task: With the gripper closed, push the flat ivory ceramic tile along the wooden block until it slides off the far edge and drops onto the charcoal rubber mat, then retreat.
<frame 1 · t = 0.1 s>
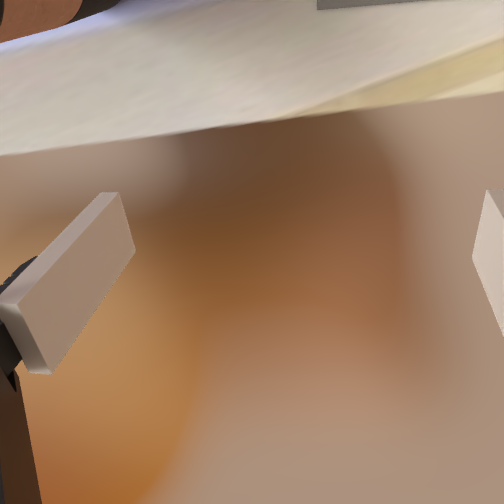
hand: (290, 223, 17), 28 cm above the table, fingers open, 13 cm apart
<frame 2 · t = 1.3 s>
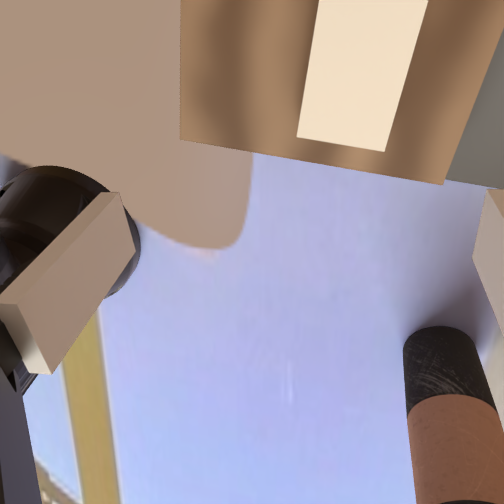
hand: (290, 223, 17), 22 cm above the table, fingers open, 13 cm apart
tile: (355, 68, 29), point 4 cm above the table, touching wooden block
wooden block: (328, 52, 33), on the table
travel mug: (437, 349, 47), on the table
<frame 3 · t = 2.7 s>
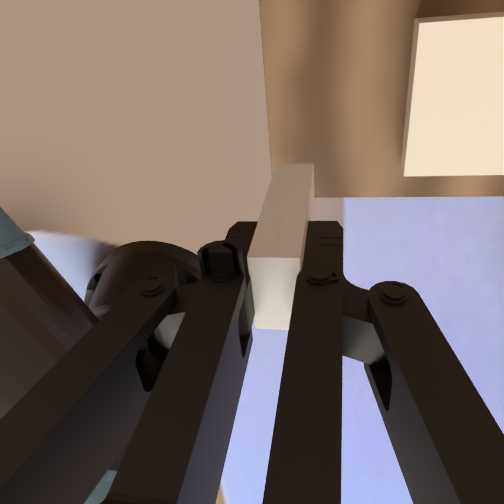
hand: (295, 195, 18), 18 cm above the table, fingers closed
tile: (457, 95, 28), point 4 cm above the table, touching wooden block
wooden block: (415, 81, 31), on the table
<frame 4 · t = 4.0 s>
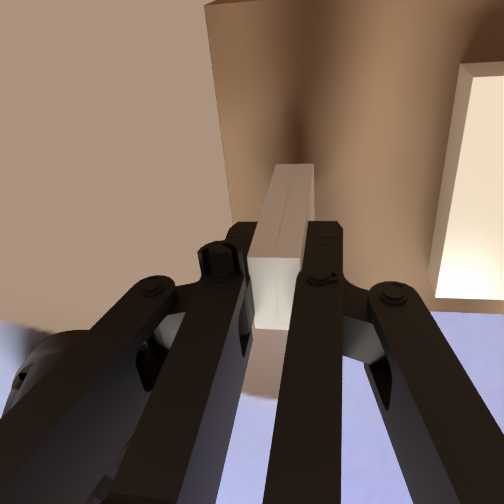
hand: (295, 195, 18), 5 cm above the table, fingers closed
wooden block: (449, 144, 21), on the table
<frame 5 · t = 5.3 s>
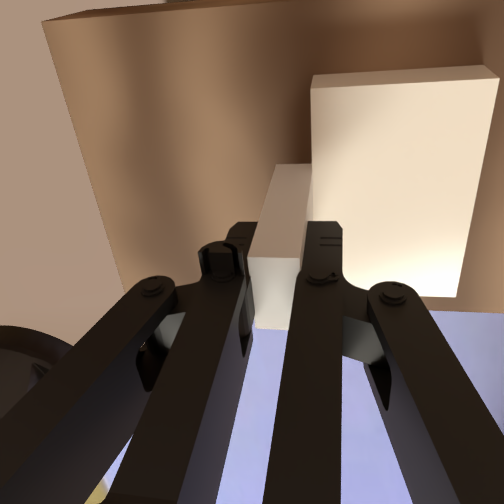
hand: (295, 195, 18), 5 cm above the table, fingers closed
tile: (386, 182, 19), point 4 cm above the table, touching wooden block, gripper
wooden block: (307, 149, 23), on the table
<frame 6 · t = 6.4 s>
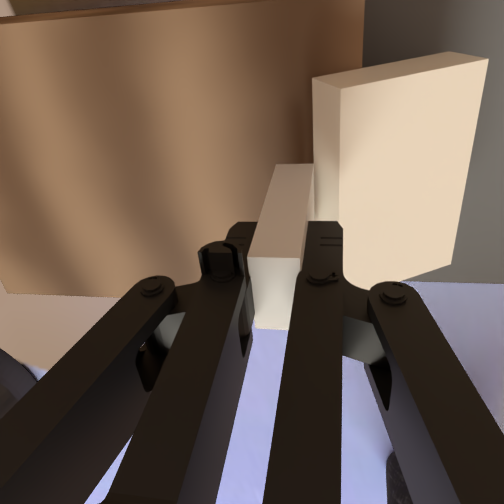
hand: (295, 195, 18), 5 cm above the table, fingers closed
tile: (376, 174, 19), point 4 cm above the table, tilted 30°, touching wooden block
mat: (484, 143, 21), on the table
wooden block: (165, 151, 24), on the table
travel mug: (431, 465, 36), on the table
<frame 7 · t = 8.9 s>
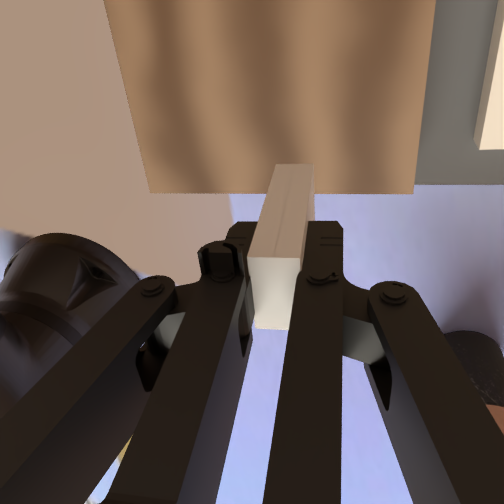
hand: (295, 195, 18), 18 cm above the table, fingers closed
wooden block: (275, 83, 33), on the table
travel mug: (461, 354, 45), on the table
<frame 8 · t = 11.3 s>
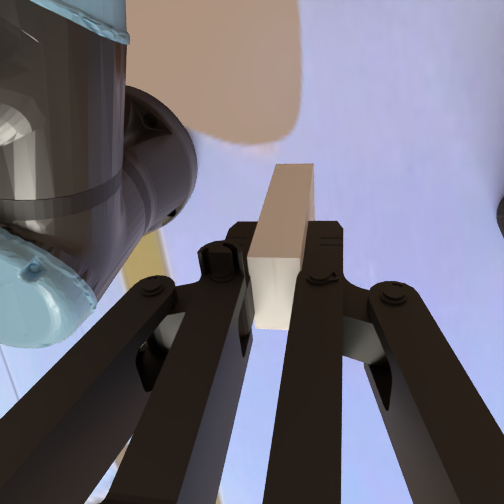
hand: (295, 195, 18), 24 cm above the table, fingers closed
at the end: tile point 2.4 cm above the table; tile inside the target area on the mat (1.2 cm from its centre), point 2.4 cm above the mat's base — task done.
